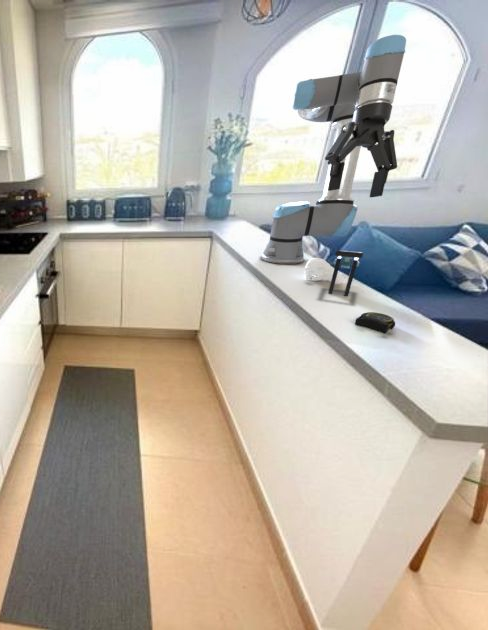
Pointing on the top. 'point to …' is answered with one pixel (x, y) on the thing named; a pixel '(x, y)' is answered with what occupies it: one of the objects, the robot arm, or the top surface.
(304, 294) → the top surface
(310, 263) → the white lumpy piece
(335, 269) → the bracket
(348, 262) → the lever
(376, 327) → the tape measure
